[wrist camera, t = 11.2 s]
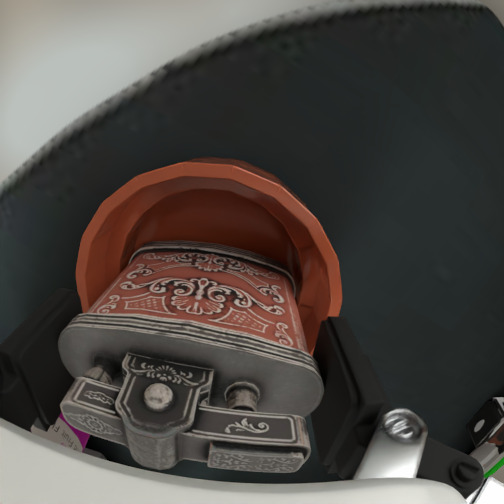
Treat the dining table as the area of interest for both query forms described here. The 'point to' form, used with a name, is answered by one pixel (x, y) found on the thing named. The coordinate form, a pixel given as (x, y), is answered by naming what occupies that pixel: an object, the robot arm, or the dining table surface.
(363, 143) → the dining table surface
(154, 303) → the lighter
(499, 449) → the toy gun
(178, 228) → the clay dish
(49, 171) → the dining table surface
